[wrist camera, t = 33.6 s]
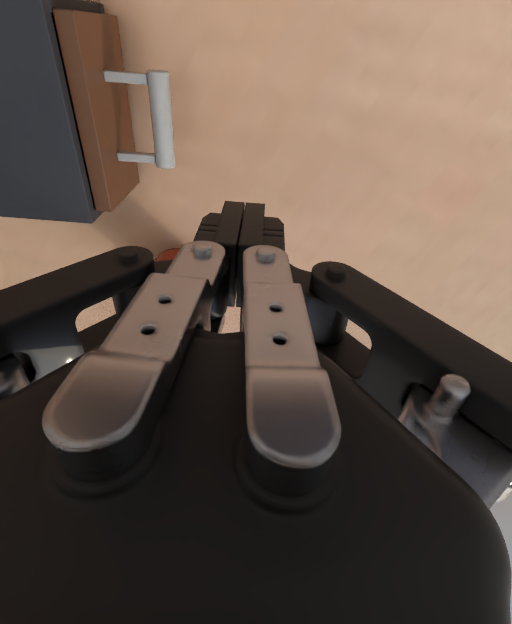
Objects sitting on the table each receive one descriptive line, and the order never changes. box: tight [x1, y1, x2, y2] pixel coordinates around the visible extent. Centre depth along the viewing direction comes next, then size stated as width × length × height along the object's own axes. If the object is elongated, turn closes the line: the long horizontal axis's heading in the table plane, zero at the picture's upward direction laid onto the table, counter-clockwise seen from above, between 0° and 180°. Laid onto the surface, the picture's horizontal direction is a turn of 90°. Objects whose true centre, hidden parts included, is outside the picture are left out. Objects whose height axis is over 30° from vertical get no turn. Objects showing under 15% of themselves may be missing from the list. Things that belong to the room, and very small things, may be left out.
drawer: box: [52, 8, 175, 212], centre depth 26 cm, size 18×11×7 cm, turn 86°
